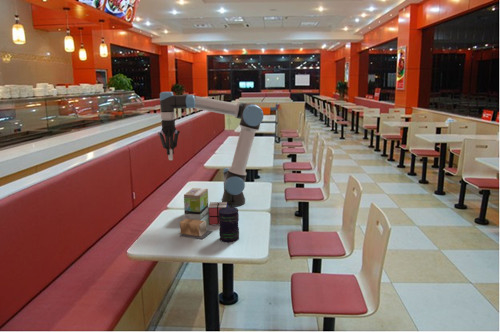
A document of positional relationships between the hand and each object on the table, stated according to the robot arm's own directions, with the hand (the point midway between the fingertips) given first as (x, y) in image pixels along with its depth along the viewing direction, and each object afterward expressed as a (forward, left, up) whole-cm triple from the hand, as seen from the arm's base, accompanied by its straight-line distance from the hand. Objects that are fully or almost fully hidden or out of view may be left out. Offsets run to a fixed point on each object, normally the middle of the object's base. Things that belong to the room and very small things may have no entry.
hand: (170, 160), depth 230 cm
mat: (+7, +37, -32) cm, 50 cm away
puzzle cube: (-12, +30, -33) cm, 46 cm away
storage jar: (-3, +53, -33) cm, 63 cm away
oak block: (+11, +30, -29) cm, 43 cm away
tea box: (-8, +13, -33) cm, 36 cm away
